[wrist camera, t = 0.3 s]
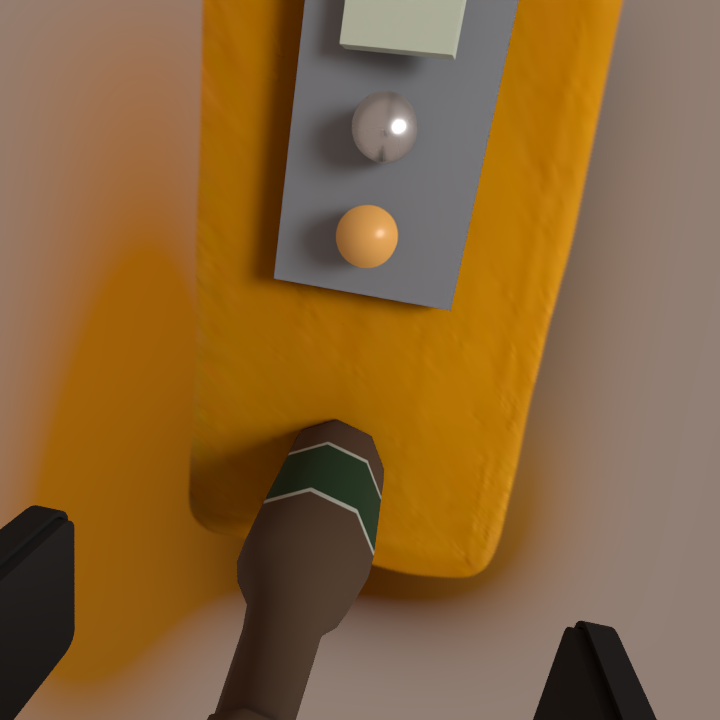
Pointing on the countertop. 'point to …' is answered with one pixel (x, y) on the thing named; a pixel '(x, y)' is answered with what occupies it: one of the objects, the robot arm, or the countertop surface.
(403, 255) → the panel
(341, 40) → the block
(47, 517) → the robot arm
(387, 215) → the button orange
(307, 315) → the countertop surface
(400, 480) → the countertop surface
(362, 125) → the button metal
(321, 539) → the beer bottle
